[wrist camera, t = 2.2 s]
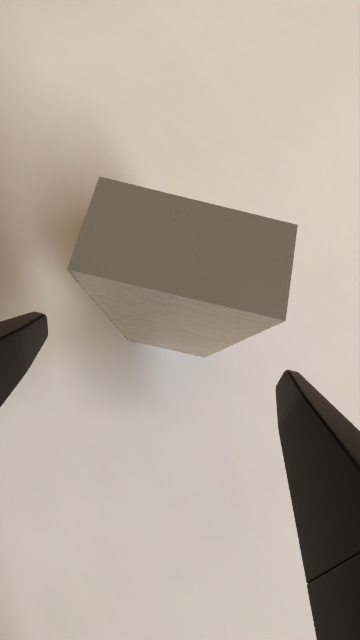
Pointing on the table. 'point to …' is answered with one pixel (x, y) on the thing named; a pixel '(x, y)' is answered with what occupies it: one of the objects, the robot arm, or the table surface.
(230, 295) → the gray rectangular block
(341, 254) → the table surface
